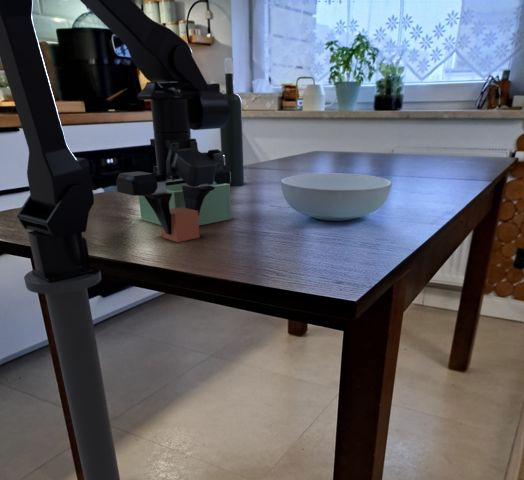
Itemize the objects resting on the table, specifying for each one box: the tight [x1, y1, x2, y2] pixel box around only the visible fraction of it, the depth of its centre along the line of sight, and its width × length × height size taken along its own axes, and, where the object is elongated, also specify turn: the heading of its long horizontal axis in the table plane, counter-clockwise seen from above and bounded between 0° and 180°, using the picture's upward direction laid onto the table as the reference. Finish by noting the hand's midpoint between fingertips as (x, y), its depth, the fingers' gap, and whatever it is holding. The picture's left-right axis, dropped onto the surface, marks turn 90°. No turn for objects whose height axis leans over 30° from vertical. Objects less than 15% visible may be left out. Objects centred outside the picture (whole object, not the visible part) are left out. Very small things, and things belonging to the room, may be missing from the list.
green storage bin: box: [138, 182, 232, 227], centre depth 100 cm, size 13×13×7 cm
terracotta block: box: [161, 207, 201, 243], centre depth 87 cm, size 4×4×4 cm
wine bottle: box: [219, 57, 245, 187], centre depth 134 cm, size 6×6×30 cm
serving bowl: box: [280, 172, 393, 222], centre depth 100 cm, size 21×21×7 cm
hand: (180, 231), depth 87 cm, fingers closed on terracotta block, 4 cm apart
